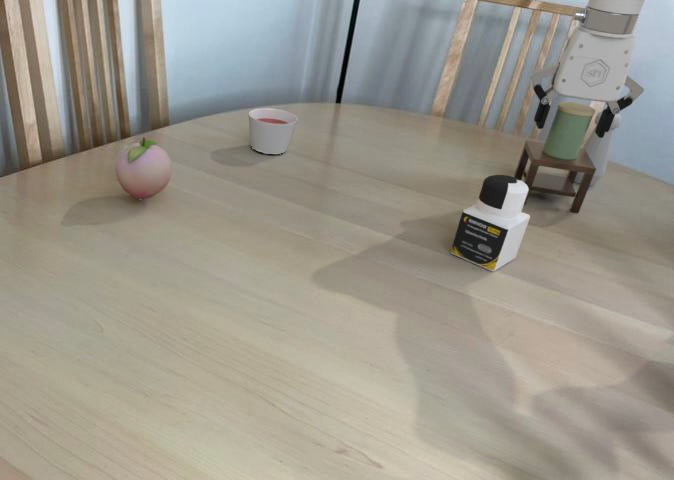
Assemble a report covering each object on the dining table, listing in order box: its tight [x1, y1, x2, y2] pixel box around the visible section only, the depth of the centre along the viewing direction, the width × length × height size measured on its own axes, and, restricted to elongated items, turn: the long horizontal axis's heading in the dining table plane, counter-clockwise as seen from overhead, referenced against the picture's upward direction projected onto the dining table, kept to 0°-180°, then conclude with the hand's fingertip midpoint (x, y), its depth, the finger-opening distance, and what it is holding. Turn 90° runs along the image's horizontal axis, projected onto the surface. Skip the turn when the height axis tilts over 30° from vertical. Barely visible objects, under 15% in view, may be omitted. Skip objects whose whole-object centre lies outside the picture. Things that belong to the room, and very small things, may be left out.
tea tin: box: [543, 101, 596, 160], centre depth 125 cm, size 6×6×8 cm
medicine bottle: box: [450, 174, 531, 273], centre depth 107 cm, size 7×7×12 cm
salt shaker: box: [574, 110, 623, 186], centre depth 137 cm, size 6×6×13 cm
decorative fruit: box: [115, 137, 173, 200], centre depth 114 cm, size 9×8×10 cm
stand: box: [513, 139, 596, 214], centre depth 130 cm, size 10×10×8 cm
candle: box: [248, 107, 298, 154], centre depth 139 cm, size 9×9×6 cm
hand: (568, 130), depth 125 cm, fingers open, 9 cm apart
